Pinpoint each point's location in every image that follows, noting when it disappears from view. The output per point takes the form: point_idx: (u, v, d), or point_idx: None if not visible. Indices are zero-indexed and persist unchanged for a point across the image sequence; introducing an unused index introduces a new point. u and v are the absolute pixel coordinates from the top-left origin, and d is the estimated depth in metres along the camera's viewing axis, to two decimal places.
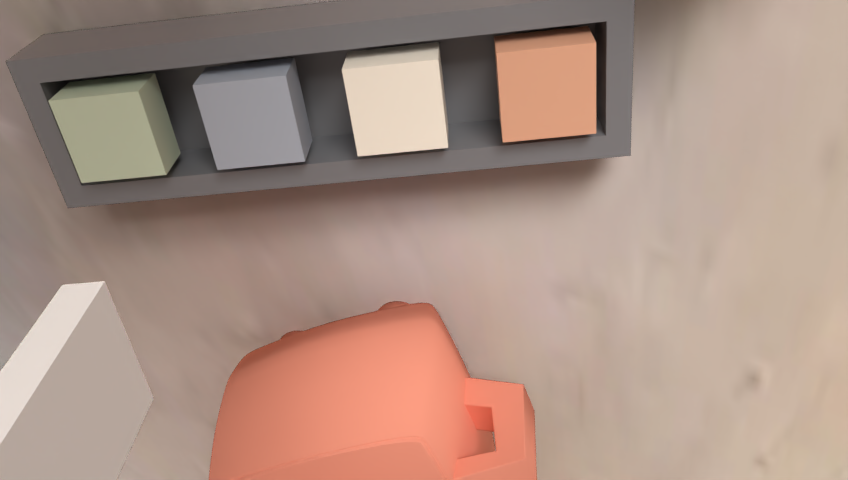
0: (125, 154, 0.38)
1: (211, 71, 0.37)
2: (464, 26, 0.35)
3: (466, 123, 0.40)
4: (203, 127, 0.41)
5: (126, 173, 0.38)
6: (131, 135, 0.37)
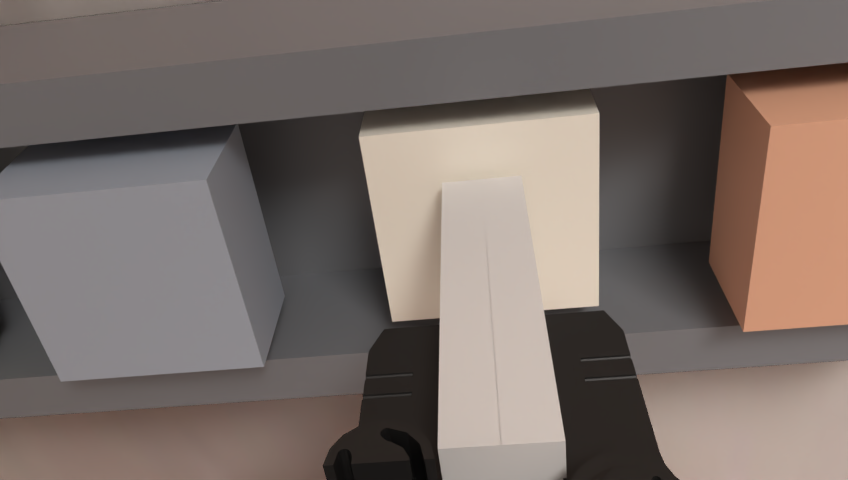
0: None
1: (36, 156, 0.15)
2: (680, 53, 0.13)
3: (618, 253, 0.19)
4: None
5: None
6: None
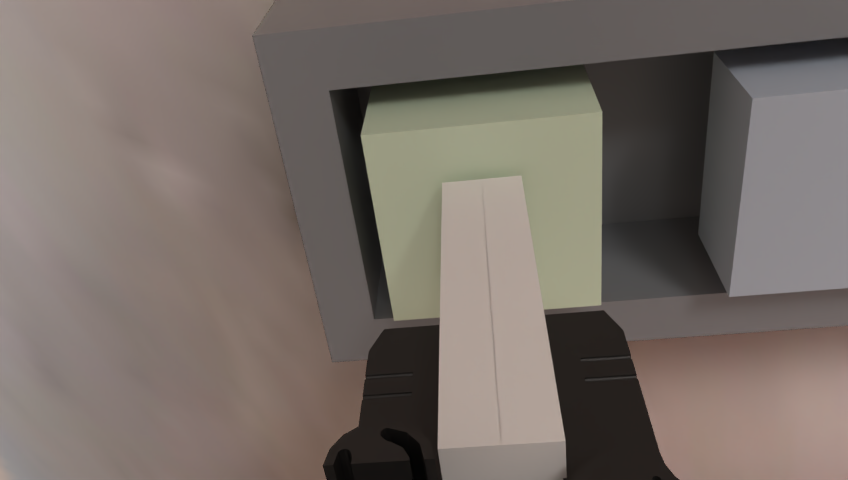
0: None
1: (748, 61, 0.15)
2: None
3: None
4: (612, 183, 0.19)
5: None
6: (547, 219, 0.15)
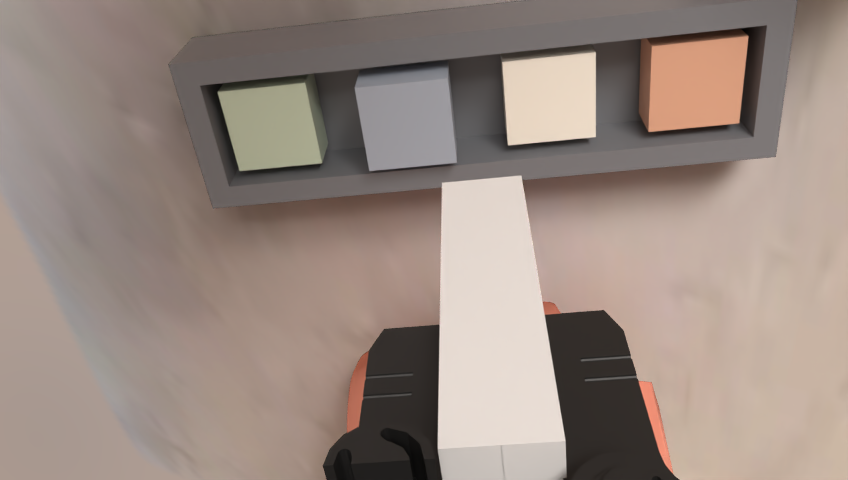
0: (285, 144, 0.39)
1: (367, 73, 0.38)
2: (626, 30, 0.35)
3: (605, 125, 0.41)
4: (343, 129, 0.42)
5: (283, 161, 0.40)
6: (293, 125, 0.39)
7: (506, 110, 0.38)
